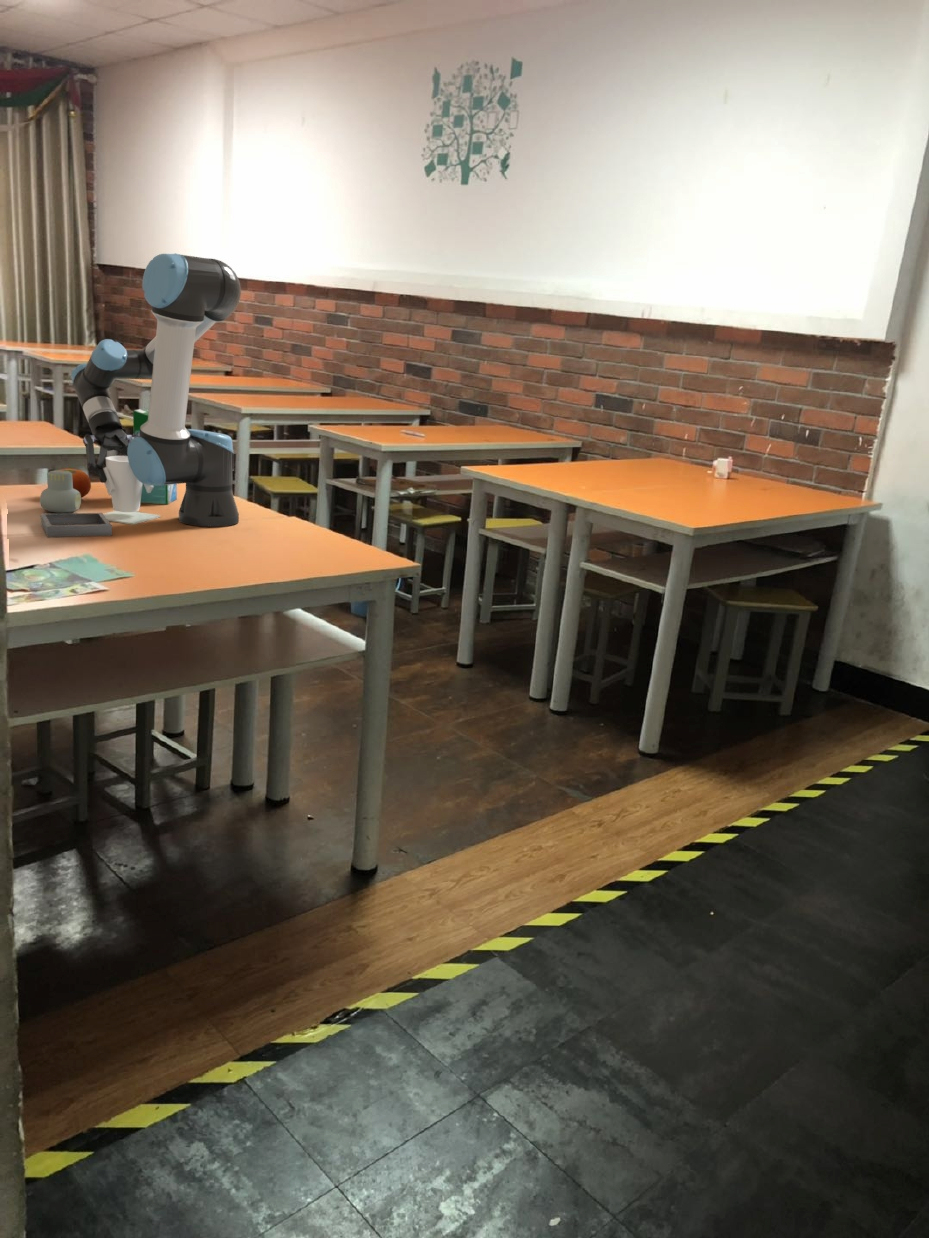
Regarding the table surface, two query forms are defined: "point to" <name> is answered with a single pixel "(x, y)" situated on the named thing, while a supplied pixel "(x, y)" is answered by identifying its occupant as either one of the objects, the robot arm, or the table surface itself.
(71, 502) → the air freshener
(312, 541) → the table surface
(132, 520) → the pad
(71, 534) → the grey square frame
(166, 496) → the milk carton
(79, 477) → the fruit
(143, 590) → the table surface
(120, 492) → the foam cup
